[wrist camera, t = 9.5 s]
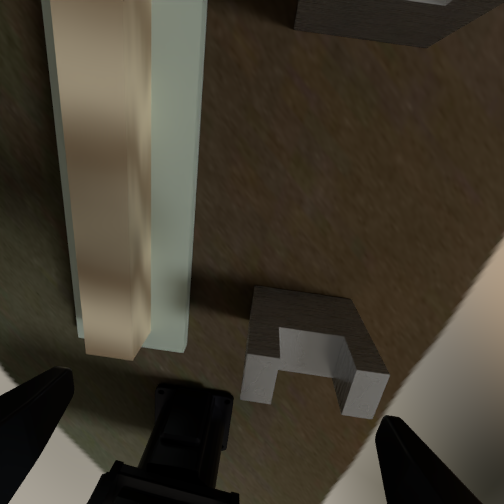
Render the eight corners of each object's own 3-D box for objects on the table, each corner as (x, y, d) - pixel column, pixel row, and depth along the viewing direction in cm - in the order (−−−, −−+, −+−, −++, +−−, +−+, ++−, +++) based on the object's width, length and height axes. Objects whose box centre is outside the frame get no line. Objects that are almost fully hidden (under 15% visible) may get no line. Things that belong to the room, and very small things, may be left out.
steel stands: (341, 334, 21) (372, 419, 15) (249, 320, 21) (239, 399, 15) (448, -27, 14) (611, -179, 7) (305, -47, 14) (336, -214, 7)
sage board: (186, 344, 23) (183, 352, 22) (86, 329, 23) (78, 337, 22) (216, -149, 13) (212, -172, 12) (37, -173, 13) (19, -198, 12)
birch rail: (150, 331, 21) (132, 360, 18) (110, 325, 21) (86, 353, 18) (151, -130, 12) (116, -209, 9) (82, -139, 12) (27, -221, 10)
